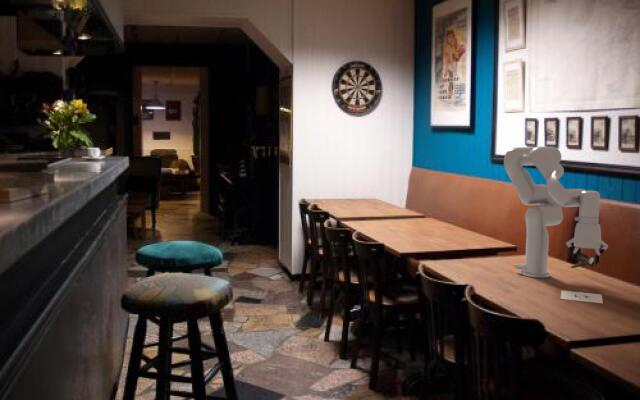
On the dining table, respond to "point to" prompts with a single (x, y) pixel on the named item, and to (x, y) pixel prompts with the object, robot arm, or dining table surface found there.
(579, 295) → the white square panel
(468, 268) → the dining table surface
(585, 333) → the dining table surface
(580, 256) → the eagle figurine
